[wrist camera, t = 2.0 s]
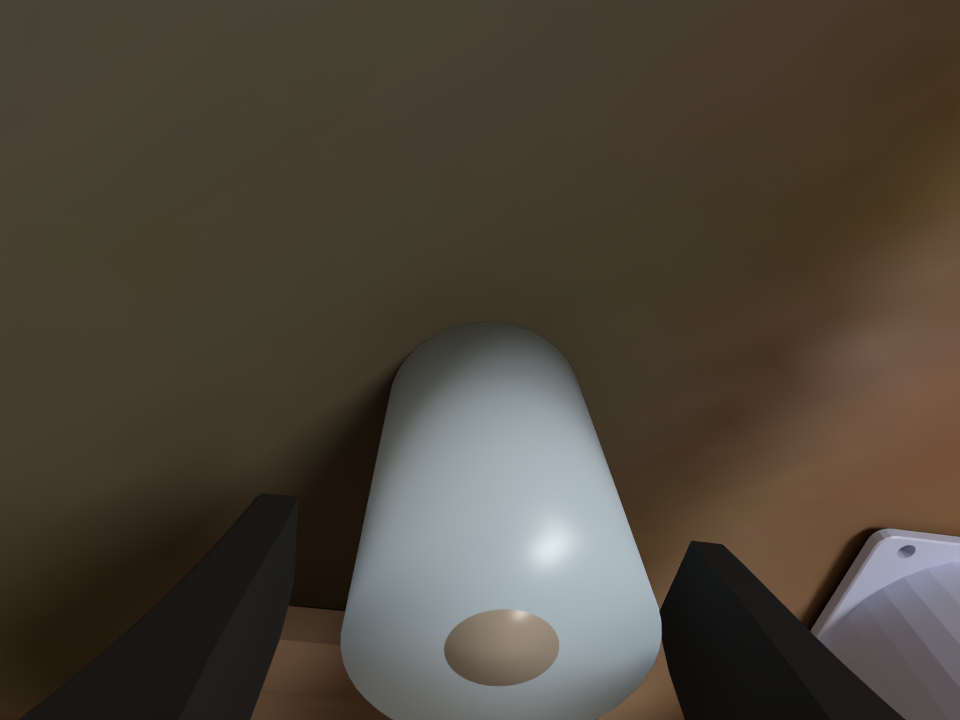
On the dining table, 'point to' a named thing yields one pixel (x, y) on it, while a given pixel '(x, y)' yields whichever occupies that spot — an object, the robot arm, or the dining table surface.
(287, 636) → the holder
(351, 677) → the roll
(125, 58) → the dining table surface
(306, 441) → the dining table surface
